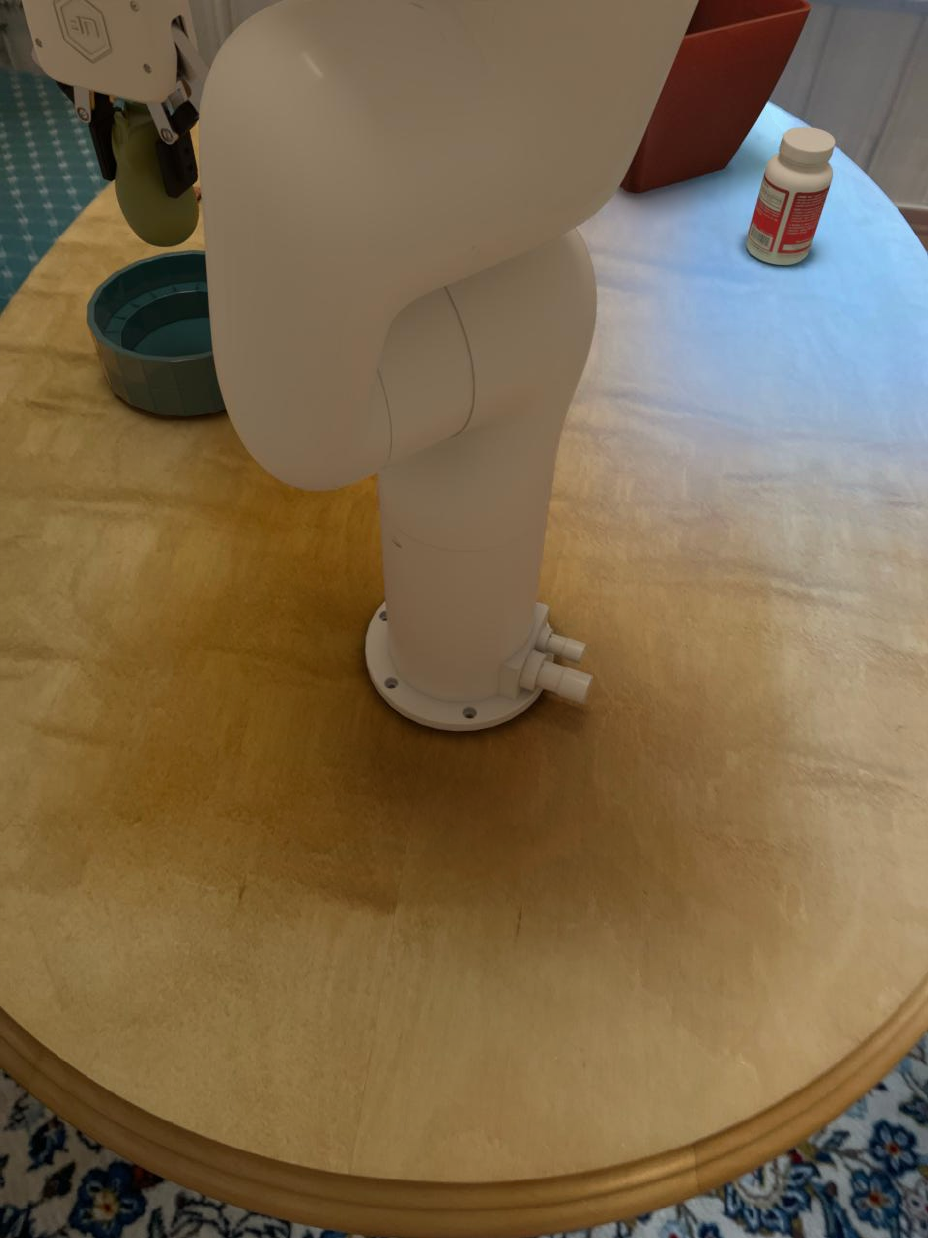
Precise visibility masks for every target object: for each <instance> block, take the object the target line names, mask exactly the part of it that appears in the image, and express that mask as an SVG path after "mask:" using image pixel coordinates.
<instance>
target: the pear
mask: <svg viewBox="0 0 928 1238" xmlns="http://www.w3.org/2000/svg"><path fill="white" fill-rule="evenodd" d="M114 118H115V123H114V124H113V127H112V148H113V152H114V156H115V159H116V162H117V169H116V175H115V180H114V191H115V196H116V200H117V203H118V206H119V209H120V210H121V214H122V215H123V218H124V219H125V221H126V223H127V225H128V226H129V228H130V229H131V230H132V231H133V233H134V234H135V235H136V236H137V237H138V238H139V239H141V240H142V241H143V242H145V243H146V244H149V245H151V246H154V247H158V248H170V247H176V246H179V245H181V244H182V243H184V242H186V241H187V240H189V238H191V237H192V235H193V234H194V233H195V231H196V229H197V226H198V223H199V219H200V206H199V201H198V198H197V197H196V193H195V190H194V187H195V186H194V184H193V185H192V186H191V187H190V188H189V189H187V190H186V191H185V192H184V193H183V194H182V195H180V196H179V197H178V198H177V199H175V198H171V197H169V196H168V195H167V194H166V191H165V187H164V183H163V178H162V174H161V170H160V166H159V161H158V157H157V153H156V148H155V143H156V142H157V141H158V140H159V139H161V137H160V135H159V132H158V130H157V128H156V125H155V123H154V121H153V118H152V116H151V113H150V111H149V109H148V106H147V104H144V103H140V102H135V101H132V102H130V101H129V102H128V101H126V100H124V101H123V108H122V111H121V112H115V114H114Z"/></svg>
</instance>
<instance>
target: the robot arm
mask: <svg viewBox="0 0 928 1238" xmlns="http://www.w3.org/2000/svg"><path fill="white" fill-rule="evenodd" d="M698 1H699V0H280V1H278V2H276V3H274V4H271V5H269V6H267V7H264V8H262V9H260V10H259V11H257V12H256V13H254V14H252V15H251V16H249V17H248V18H246V20H244V21H242V23H240V24H239V25H238V26H237V27H236V28H235V29H234V30H233V31H232V32H231V34H230V35H229V36H228V37H227V38H226V40H225V41H223V43H222V45H221V46H220V48H219V50H218V51H217V53H216V55H215V57H214V59H213V60H212V64H211V66H210V68H209V67H208V65H207V64H206V62H205V61H204V60H203V57H202V56H201V55H200V53H199V48H198V47H199V46H198V42H197V36H196V31H195V27H194V22H193V21H194V20H193V17H192V12H191V8H190V3H189V0H21V2H22V6H23V11H24V14H25V19H26V23H27V26H28V30H29V33H30V37H31V41H32V44H33V45H32V48H31V53H30V56H31V58H32V60H33V62H34V63H35V64H36V65H37V66H38V67H39V68H40V69H41V70H43V72H44V73H45V74H46V75H47V76H49V77H50V78H51V79H52V80H53V81H55V83H56V85H57V87H58V88H59V89H60V91H61V92H62V93H63V94H64V95H65V96H66V97H67V99H68V100H70V102H72V104H73V105H74V109H75V114H76V116H77V118H78V119H79V121H81V122H82V123H85V124H87V126H88V131H89V133H90V138H91V142H92V145H93V148H94V152H95V155H96V159H97V163H98V166H99V170H100V173H101V177H102V179H103V180H105V181H108V182H113V181H115V175H116V169H117V162H116V159H115V156H114V152H113V148H112V127H113V124H114V123H115V118H114V114H115V112H121V111H122V110H123V108H122V107H121V106H118V105H117V106H114V105H115V98H119V99H121V100H125V101H126V100H127V101H130V102H131V101H132V102H140V103H144V104H147V106H148V109H149V111H150V113H151V116H152V118H153V121H154V123H155V125H156V128H157V130H158V132H159V135H160V137H161V139H159V140H158V141H157V142H156V143H155V148H156V153H157V157H158V161H159V166H160V170H161V174H162V178H163V183H164V187H165V191H166V194H167V195H168V196H169V197H171V198H175V199H177V198H178V197H179V196H180V195H182V194H183V193H184V192H185V191H186V190H187V189H189V188H190V187H191V186H192V185H193V186H194V185H195V184H196V183H197V182H198V179H199V180H200V188H201V196H200V197H201V198H200V199H201V209H202V224H203V225H202V227H203V239H204V251H205V256H206V271H207V285H208V301H209V316H210V328H211V339H212V349H213V356H214V362H215V368H216V373H217V379H218V383H219V387H220V390H221V393H222V397H223V400H224V403H225V406H226V409H225V410H226V412H227V415H228V417H229V420H230V422H231V424H232V427H233V428H234V430H235V433H236V434H237V436H238V438H239V440H240V441H241V443H242V444H243V446H244V448H245V449H246V451H247V452H248V453H249V455H250V456H251V457H252V459H253V460H255V462H256V463H257V464H258V465H259V466H260V467H261V468H262V469H263V470H264V471H265V472H267V474H269V475H270V476H272V477H274V478H275V479H276V480H278V481H280V482H281V483H283V484H285V485H288V486H290V487H292V488H295V489H300V490H303V491H307V492H308V491H310V492H327V491H332V490H334V491H335V490H339V489H341V488H345V487H348V486H351V485H353V484H355V483H358V482H360V481H362V480H366V479H367V478H369V477H371V476H373V475H376V487H377V488H376V490H377V504H378V505H377V506H378V519H379V532H380V545H381V546H380V547H381V560H382V574H383V586H384V587H383V589H384V601H383V603H382V604H381V605H380V606H379V607H378V608H377V610H376V611H375V613H374V614H373V617H372V618H371V620H370V622H369V625H368V628H367V632H366V635H365V648H364V652H365V663H366V668H367V670H368V674H369V677H370V680H371V682H372V685H374V688H375V689H376V691H377V693H378V694H379V695H380V696H381V698H383V699H384V701H385V702H386V703H387V704H388V705H389V706H390V707H391V708H393V709H394V710H395V711H397V713H399V714H401V716H403V717H405V718H407V719H409V720H411V721H413V722H415V723H417V724H420V725H423V726H426V727H429V728H433V729H435V730H441V731H442V730H443V731H451V732H468V731H469V732H471V731H478V730H483V729H484V730H485V729H487V728H492V727H495V726H498V725H501V724H503V723H506V722H508V721H510V720H512V719H514V718H515V717H517V716H519V715H520V714H521V713H523V712H525V711H526V710H527V709H528V708H529V707H530V706H531V705H532V704H533V703H534V702H535V701H536V700H537V699H538V698H539V697H540V695H541V693H542V691H544V690H546V691H548V692H551V693H554V694H556V696H558V697H561V698H564V699H566V700H569V701H572V702H575V703H577V704H580V705H584V704H585V703H586V701H587V698H588V695H589V693H590V690H591V688H592V684H593V679H594V675H593V674H589V673H586V672H584V671H581V670H578V669H575V668H572V667H569V666H566V667H565V666H563V665H561V664H560V665H559V664H557V663H554V658H555V656H557V657H561V659H564V660H567V661H569V662H572V663H574V664H578V665H580V664H581V663H582V661H583V659H584V656H585V655H586V654H585V653H586V650H587V647H588V644H587V643H585V642H582V641H579V640H576V639H574V638H571V637H565V636H563V635H562V636H561V635H558V634H555V632H554V628H552V627H551V626H550V623H549V621H548V619H549V614H550V613H549V612H550V606H549V605H548V604H545V603H543V602H540V601H538V599H539V598H538V597H539V589H540V582H541V574H542V565H543V557H544V551H545V542H546V535H547V526H548V519H549V511H550V503H551V499H552V498H551V497H552V491H553V484H554V477H555V469H556V463H557V462H556V461H557V457H558V451H559V447H560V442H561V436H562V432H563V428H564V425H565V421H566V418H567V415H568V413H569V411H570V410H569V409H570V407H571V404H572V401H573V399H574V396H575V395H576V391H577V388H578V386H579V383H580V380H581V378H582V376H583V373H584V370H585V367H586V364H587V361H588V358H589V354H590V351H591V346H592V343H593V339H594V335H595V329H596V322H597V313H598V289H597V287H598V286H597V281H596V274H595V269H594V268H595V267H594V264H593V261H592V257H591V255H590V252H589V249H588V247H587V244H586V242H585V240H584V237H583V236H582V234H581V233H580V231H579V230H578V227H579V226H581V225H583V224H584V223H586V222H587V221H588V220H589V219H591V218H592V217H594V216H595V215H596V214H597V213H599V212H600V211H601V210H602V209H603V208H604V207H605V206H606V205H607V204H608V202H610V201H611V199H612V198H613V196H614V195H615V193H616V192H617V191H618V189H619V187H620V184H621V182H622V180H623V179H624V177H625V175H626V173H627V171H628V169H629V167H630V165H631V163H632V161H633V158H634V156H635V154H636V151H637V149H638V147H639V144H640V142H641V140H642V137H643V135H644V133H645V130H646V128H647V125H648V123H649V120H650V118H651V115H652V113H653V111H654V108H655V106H656V103H657V101H658V98H659V96H660V94H661V91H662V89H663V86H664V84H665V81H666V79H667V77H668V74H669V72H670V69H671V67H672V64H673V62H674V59H675V57H676V55H677V52H678V50H679V47H680V45H681V42H682V40H683V38H684V35H685V33H686V30H687V28H688V25H689V23H690V21H691V18H692V16H693V13H694V11H695V8H696V6H697V3H698ZM183 81H185V82H186V84H187V85H188V87H189V89H190V96H189V97H188V94H187V91H186V88H185V86H184V84H183ZM167 100H169V102H170V105H171V107H172V110H173V112H172V113H171V111H170V109H169V107H168V105H167V102H166V101H167ZM197 123H198V164H197V159H196V153H195V148H194V144H193V139H192V134H191V130H192V129H193V128H194V127H196V125H197ZM198 167H199V168H198ZM198 171H199V172H198ZM554 655H555V656H554Z"/></svg>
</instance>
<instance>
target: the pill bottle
mask: <svg viewBox="0 0 928 1238" xmlns="http://www.w3.org/2000/svg"><path fill="white" fill-rule="evenodd" d="M835 146H836V139H835V137H834V136H833V135H832V134H831V133H829V132H828V131H826V130H823V129H820V128H817V127H813V126H811V127H810V126H796V127H792V128H789V129H787V130H786V131H785V132H784V133H783V135H782V138H781V141H780V144H779V148H778V152H777V153H775V154H774V155H773V156H772V157H770V159H769V160H768V162H767V164H766V166H765V169H764V171H763V176H762V179H761V184H760V186H759V190H758V194H757V198H756V202H755V205H754V209H753V213H752V217H751V222H750V224H749V230H748V233H747V237H746V243H745V244H746V248H747V250H748V252H749V253H750V254H751V256H753V257H755V258H756V259H758V260H760V261H762V262H764V263H768V264H771V265H778V266H791V265H794V264H797V263H800V262H801V261H803V260H805V258H806V257H807V256H808V254H809V252H810V250H811V247H812V244H813V241H814V238H815V235H816V231H817V228H818V225H819V222H820V219H821V216H822V213H823V209H824V206H825V203H826V200H827V197H828V194H829V191H830V188H831V185H832V182H833V178H834V170H833V167H832V164H831V163H830V162H829V161H830V160H831V159H832V157H833V154H834V150H835Z"/></svg>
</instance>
